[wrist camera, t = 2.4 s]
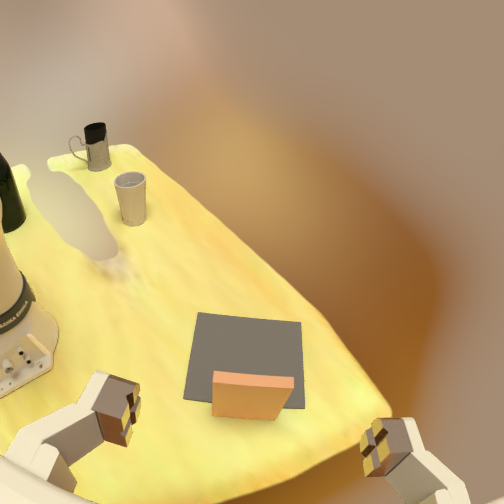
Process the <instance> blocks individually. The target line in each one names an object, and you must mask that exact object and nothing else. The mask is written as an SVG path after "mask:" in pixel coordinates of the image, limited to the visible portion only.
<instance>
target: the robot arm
mask: <svg viewBox="0 0 504 504" xmlns="http://www.w3.org/2000/svg"><path fill="white" fill-rule="evenodd" d="M1 221H2V203H1V199H0V398H2V397H4V396H5V395H7V394H9V393H11V392H12V391H14V390H16V389H18V388H19V387H21V386H23V385H25V384H27V383H28V382H30V381H32V380H34V379H35V378H37V377H39V376H41V375H42V374H44V373H46V372H48V371H49V370H51V369H52V367H53V352H54V349H55V347H56V344H57V341H58V326H57V323H56V321H55V319H54V318H53V317H52V316H51V315H50V314H49V313H48V312H47V311H45V310H44V309H43V308H42V307H41V305H40V304H39V303H38V302H37V300H36V298H35V296H34V292H33V290H32V288H31V286H30V285H29V283H28V281H27V279H26V277H25V276H24V275H23V274H22V272H21V271H20V270H19V269H18V267H17V265H16V263H15V261H14V259H13V257H12V255H11V253H10V250H9V248H8V246H7V243H6V240H5V237H4V233H3V228H2V222H1ZM41 366H43V367H42V368H41ZM139 391H140V385H139V383H136V382H132V381H129V380H126V379H123V378H120V377H117V376H114V375H111V374H108V373H105V372H102V371H99V370H96V371H95V372H94V373H93V375H92V377H91V378H90V380H89V382H88V384H87V385H86V387H85V389H84V391H83V393H82V394H81V396H80V398H79V400H78V402H77V404H75V403H71V404H69V405H67V406H65V407H63V408H61V409H59V410H57V411H55V412H53V413H51V414H49V415H47V416H45V417H43V418H41V419H39V420H37V421H35V422H33V423H31V424H28V425H26V426H24V427H22V428H20V430H19V431H18V433H17V435H16V436H15V438H14V440H13V442H12V443H11V445H10V447H9V449H8V450H7V452H6V454H5V456H4V457H3V456H1V455H0V504H98V503H95V502H93V501H90V500H88V499H85V498H83V497H80V496H78V495H76V494H73V492H74V489H75V487H76V484H77V481H76V478H75V477H74V475H73V474H72V472H71V471H70V469H69V468H68V467H69V466H70V465H72V464H73V463H75V462H76V461H78V460H79V459H80V458H82V457H83V456H85V455H86V454H87V453H89V452H90V451H92V450H93V449H94V448H96V447H97V446H99V445H100V444H101V443H103V442H104V440H105V441H108V442H111V443H114V444H117V445H121V446H124V447H128V444H129V441H130V439H131V436H132V433H133V431H132V425H133V424H135V423H136V422H137V419H138V416H139V412H140V408H141V398H140V397H139V396H138V394H139ZM371 426H372V427H371V428H369V429H367V430H366V431H365V432H364V433H363V435H362V437H361V440H360V450H361V454H362V455H363V456H364V457H365V460H364V462H363V467H364V472H365V477H381V476H386V477H385V478H386V480H387V481H388V482H389V483H390V485H391V486H392V487H393V489H394V490H395V491H396V492H397V494H398V495H399V496H400V498H401V499H402V500H403V501H404V502H405V504H471V503H470V499H469V497H468V493H467V490H466V487H465V484H464V482H462V481H461V480H460V479H459V478H458V477H457V476H456V475H455V474H453V473H452V472H451V471H450V470H449V469H448V468H447V467H446V466H445V465H443V464H442V463H441V462H440V461H439V460H438V459H437V458H436V457H435V456H433V455H432V454H431V453H430V452H429V451H425V449H424V446H423V443H422V440H421V437H420V434H419V432H418V428H417V426H416V423H415V420H414V419H413V418H410V417H409V418H376V419H374V420H373V422H372V423H371ZM485 504H504V496H502V497H500V498H497V499H495V500H492V501H490V502H488V503H485Z"/></svg>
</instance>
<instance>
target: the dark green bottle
mask: <svg viewBox="0 0 504 504" xmlns="http://www.w3.org/2000/svg"><path fill="white" fill-rule="evenodd" d="M0 199H1V203H2V221H1V222H2V228H3V232H9V231H12V230H14V229H16V228H17V227H19V226H20V225H21V224H22V223H23V221H24V220H25V217H26V213H25V210H24V207H23V204H22V201H21V198H20V195H19V192H18V189H17V186H16V182H15V179H14V176H13V173H12V171H11V168H10V166H9V164H8V162H7V161H6V160H5V158H4V157H3V156H2V154H1V153H0Z"/></svg>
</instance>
